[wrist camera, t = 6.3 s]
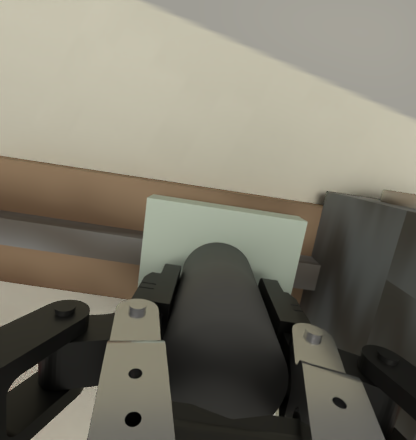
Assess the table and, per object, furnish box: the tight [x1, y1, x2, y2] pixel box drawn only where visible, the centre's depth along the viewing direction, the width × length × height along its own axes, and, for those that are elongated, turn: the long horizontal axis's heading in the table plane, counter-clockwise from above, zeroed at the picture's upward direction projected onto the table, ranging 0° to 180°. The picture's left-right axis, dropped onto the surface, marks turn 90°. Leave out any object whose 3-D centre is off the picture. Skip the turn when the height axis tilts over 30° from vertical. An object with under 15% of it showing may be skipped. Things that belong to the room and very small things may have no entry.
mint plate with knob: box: [138, 194, 308, 419], centre depth 12 cm, size 7×8×10 cm
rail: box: [0, 156, 416, 440], centre depth 13 cm, size 11×28×12 cm, turn 81°
